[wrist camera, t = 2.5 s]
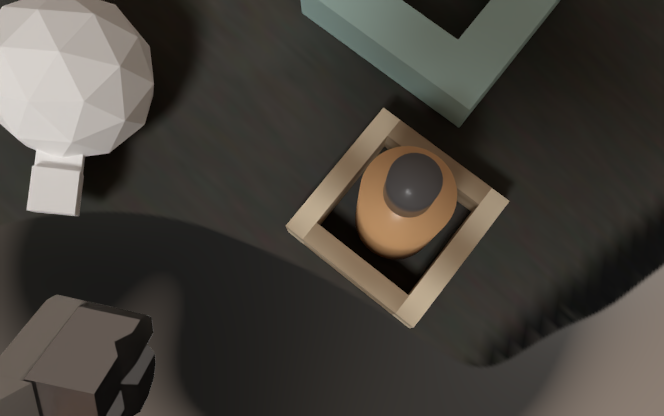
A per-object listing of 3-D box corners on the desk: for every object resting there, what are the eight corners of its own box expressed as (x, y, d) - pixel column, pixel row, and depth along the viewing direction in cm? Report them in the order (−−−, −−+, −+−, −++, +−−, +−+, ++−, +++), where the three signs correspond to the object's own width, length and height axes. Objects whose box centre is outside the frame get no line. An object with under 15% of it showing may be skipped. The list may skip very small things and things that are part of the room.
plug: (401, 275, 35) (426, 253, 26) (339, 226, 36) (340, 187, 26) (449, 214, 36) (489, 171, 27) (387, 166, 36) (404, 108, 27)
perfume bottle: (10, 9, 37) (-17, 208, 36) (-32, -64, 28) (-69, 198, 27) (160, 36, 39) (139, 223, 38) (165, -23, 30) (137, 218, 29)
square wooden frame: (409, 328, 34) (413, 327, 32) (288, 232, 36) (285, 225, 34) (500, 208, 36) (509, 201, 34) (380, 119, 37) (383, 107, 35)
